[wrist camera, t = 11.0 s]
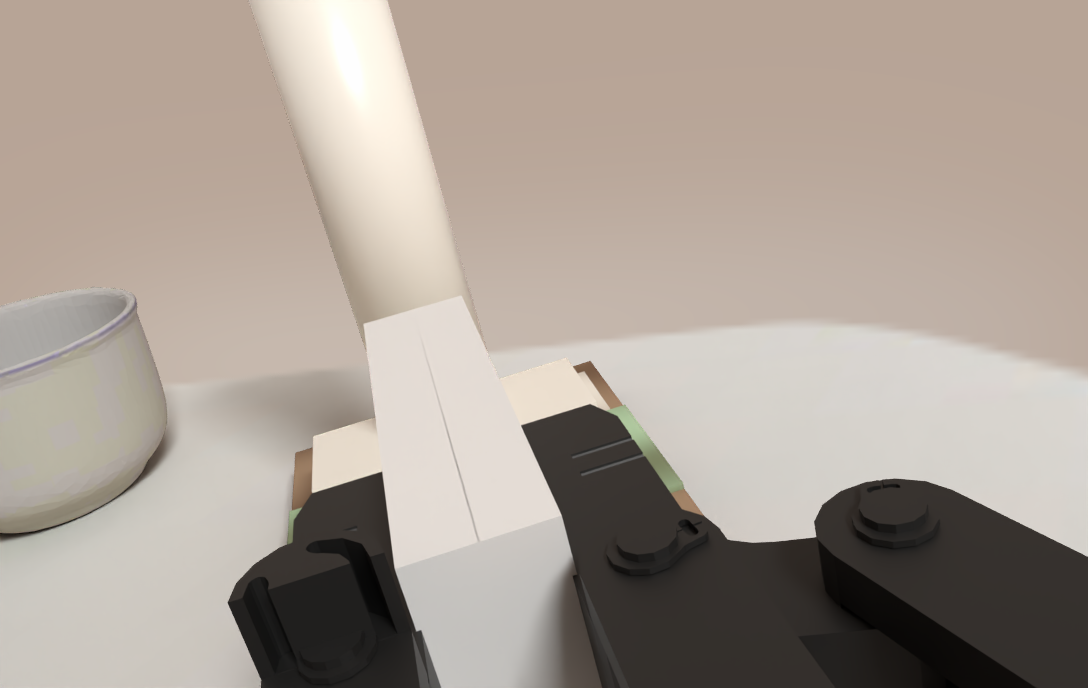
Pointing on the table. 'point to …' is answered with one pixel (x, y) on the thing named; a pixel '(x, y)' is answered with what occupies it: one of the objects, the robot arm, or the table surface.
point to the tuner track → (604, 401)
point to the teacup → (73, 405)
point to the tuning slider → (377, 195)
